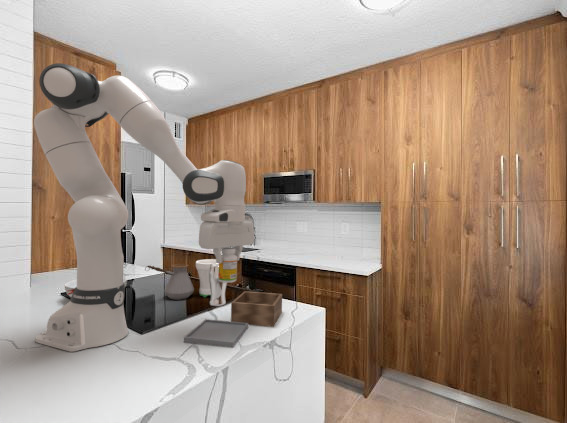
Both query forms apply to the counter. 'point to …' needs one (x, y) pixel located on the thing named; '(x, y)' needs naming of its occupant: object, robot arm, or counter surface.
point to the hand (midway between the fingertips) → (227, 261)
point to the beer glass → (216, 286)
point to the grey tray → (217, 333)
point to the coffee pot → (177, 282)
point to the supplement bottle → (228, 266)
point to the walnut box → (257, 308)
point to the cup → (204, 276)
